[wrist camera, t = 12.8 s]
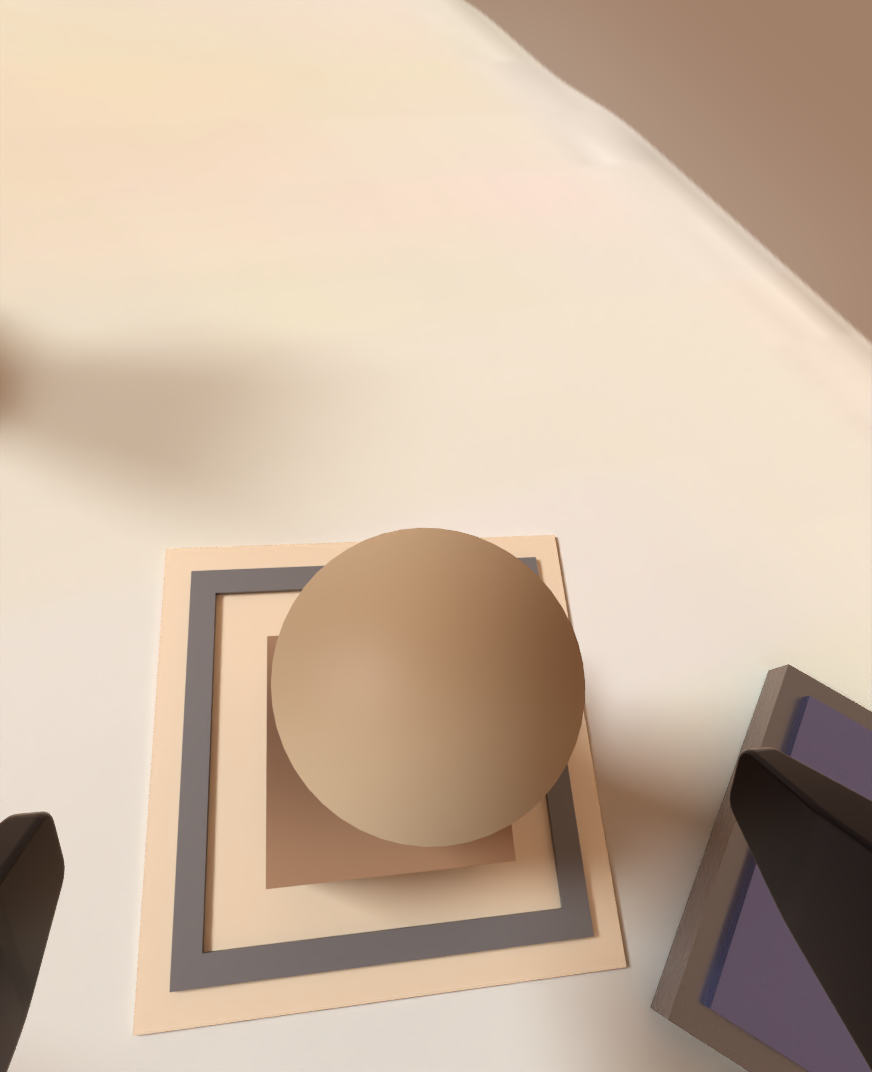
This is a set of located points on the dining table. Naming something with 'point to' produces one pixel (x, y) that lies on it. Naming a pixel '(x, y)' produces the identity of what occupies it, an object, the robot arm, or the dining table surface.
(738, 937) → the ink pad
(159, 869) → the marked card
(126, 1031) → the dining table surface
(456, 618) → the stamp
